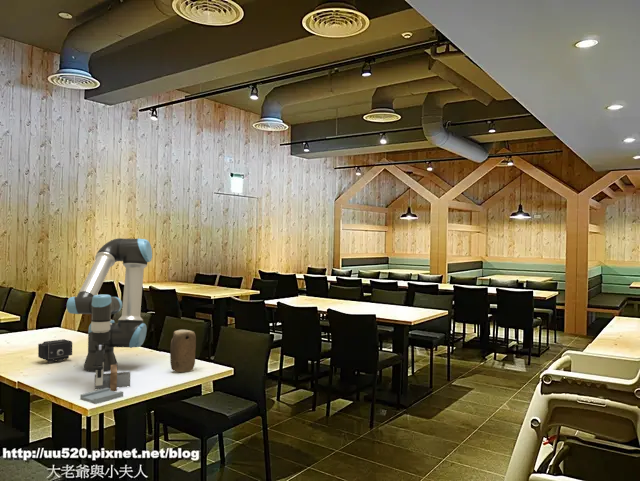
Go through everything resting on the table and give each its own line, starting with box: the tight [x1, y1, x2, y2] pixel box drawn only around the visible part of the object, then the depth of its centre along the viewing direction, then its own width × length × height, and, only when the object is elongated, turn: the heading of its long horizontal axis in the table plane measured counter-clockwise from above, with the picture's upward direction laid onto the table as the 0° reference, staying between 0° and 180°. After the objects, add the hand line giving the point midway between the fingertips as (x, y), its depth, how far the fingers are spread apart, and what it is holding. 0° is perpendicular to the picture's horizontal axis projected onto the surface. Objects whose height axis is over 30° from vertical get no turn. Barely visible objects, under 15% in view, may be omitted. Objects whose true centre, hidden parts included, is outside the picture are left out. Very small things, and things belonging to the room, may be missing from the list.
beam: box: [110, 363, 118, 392], centre depth 216 cm, size 2×15×8 cm, turn 22°
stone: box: [169, 329, 197, 373], centre depth 245 cm, size 12×7×20 cm, turn 137°
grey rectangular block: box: [94, 371, 131, 390], centre depth 216 cm, size 14×4×6 cm, turn 115°
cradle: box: [79, 388, 124, 405], centre depth 200 cm, size 12×10×2 cm
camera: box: [37, 339, 73, 364], centre depth 260 cm, size 11×11×15 cm
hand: (99, 381), depth 214 cm, fingers open, 13 cm apart
